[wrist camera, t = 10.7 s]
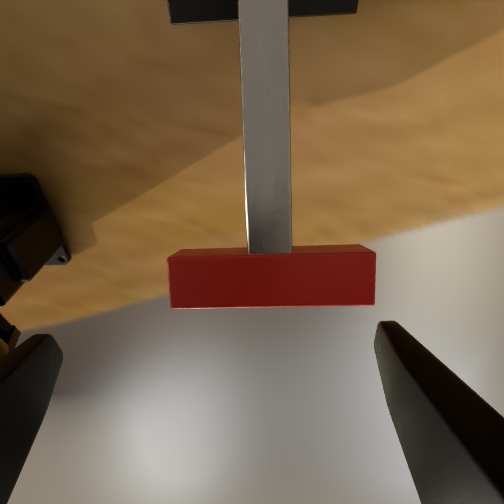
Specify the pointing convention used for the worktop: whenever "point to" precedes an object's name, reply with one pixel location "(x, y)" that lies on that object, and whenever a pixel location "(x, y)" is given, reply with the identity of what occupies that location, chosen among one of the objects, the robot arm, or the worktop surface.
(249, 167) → the lever
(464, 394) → the robot arm
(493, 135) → the worktop surface
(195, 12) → the toaster bracket
